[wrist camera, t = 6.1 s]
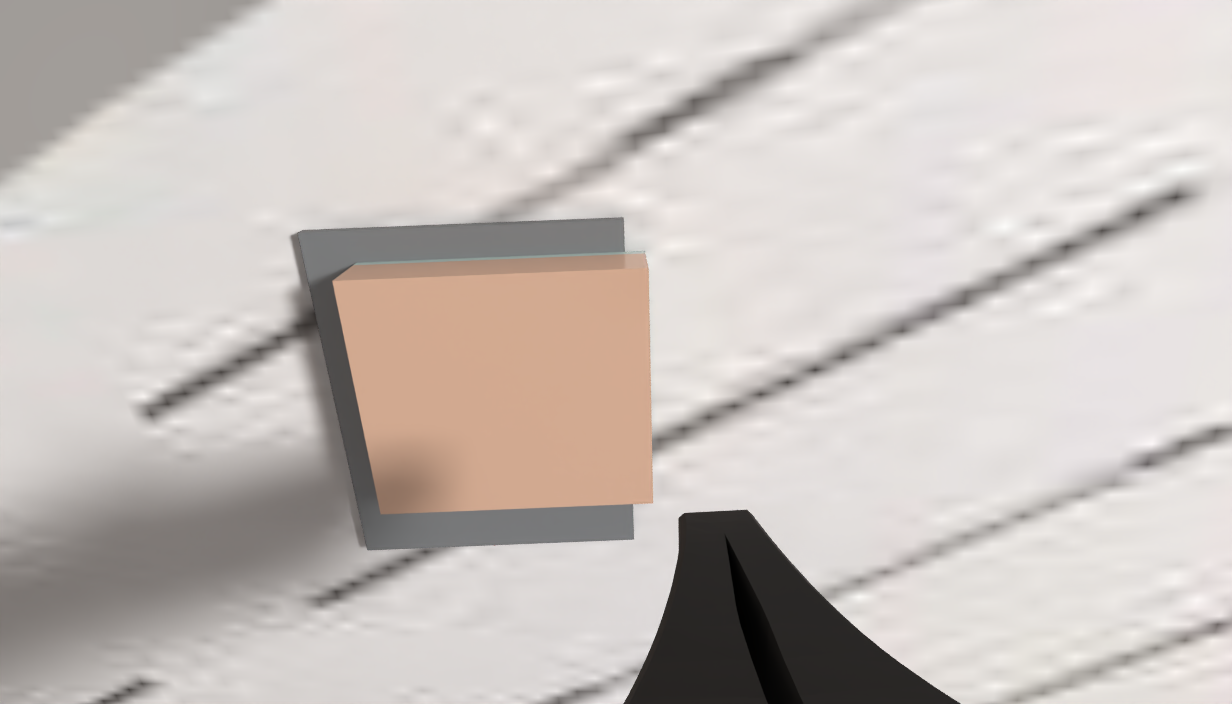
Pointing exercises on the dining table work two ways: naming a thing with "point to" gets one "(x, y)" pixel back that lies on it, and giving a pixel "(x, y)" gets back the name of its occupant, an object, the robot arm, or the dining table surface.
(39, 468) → the dining table surface
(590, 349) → the peach green flat block
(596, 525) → the mat
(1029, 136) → the dining table surface
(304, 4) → the dining table surface
